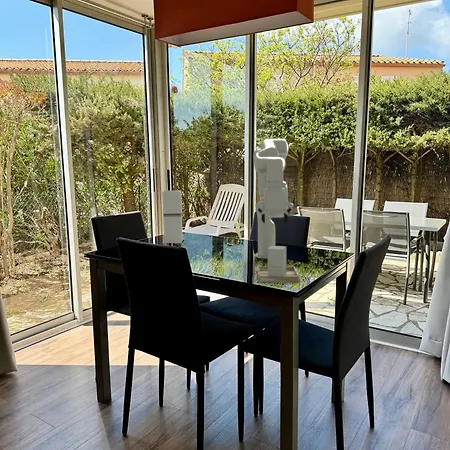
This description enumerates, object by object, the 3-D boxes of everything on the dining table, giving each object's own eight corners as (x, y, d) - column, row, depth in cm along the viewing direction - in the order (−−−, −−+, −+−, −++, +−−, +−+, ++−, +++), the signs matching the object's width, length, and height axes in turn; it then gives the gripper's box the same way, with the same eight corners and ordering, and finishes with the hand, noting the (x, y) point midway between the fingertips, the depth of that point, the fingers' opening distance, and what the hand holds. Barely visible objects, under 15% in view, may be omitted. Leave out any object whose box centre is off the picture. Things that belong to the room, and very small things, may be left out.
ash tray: (257, 271, 200) (257, 266, 200) (294, 271, 200) (295, 266, 199) (258, 281, 183) (258, 276, 182) (299, 282, 182) (299, 276, 181)
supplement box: (286, 272, 193) (286, 246, 192) (283, 276, 187) (283, 249, 185) (271, 271, 196) (271, 245, 194) (267, 275, 189) (267, 248, 187)
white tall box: (182, 243, 276) (181, 190, 271) (182, 246, 266) (180, 191, 261) (165, 243, 275) (163, 190, 270) (164, 246, 265) (162, 191, 260)
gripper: (292, 184, 192) (292, 221, 195) (255, 184, 193) (255, 221, 196) (294, 186, 185) (294, 223, 188) (255, 186, 186) (255, 224, 189)
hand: (274, 222), depth 192 cm, fingers open, 9 cm apart
